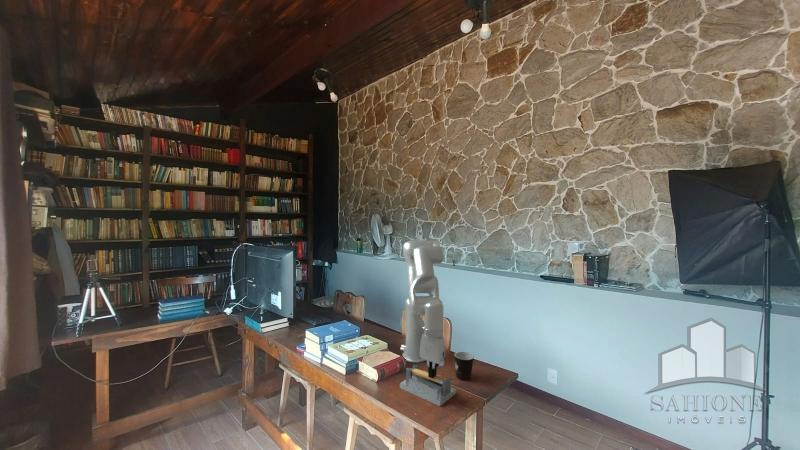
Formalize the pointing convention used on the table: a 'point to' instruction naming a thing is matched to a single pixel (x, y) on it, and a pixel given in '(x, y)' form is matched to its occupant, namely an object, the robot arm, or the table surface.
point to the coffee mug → (463, 365)
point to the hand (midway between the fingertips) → (432, 376)
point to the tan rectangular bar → (425, 375)
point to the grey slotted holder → (427, 387)
